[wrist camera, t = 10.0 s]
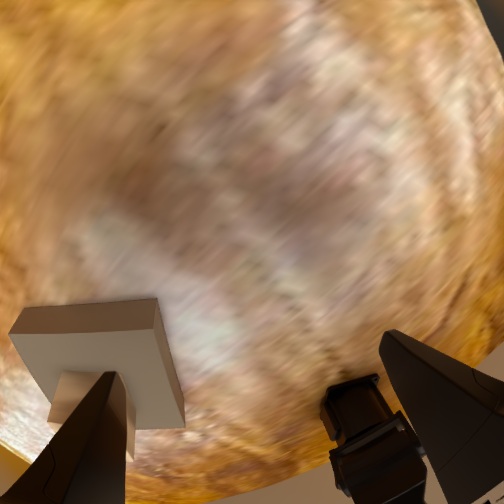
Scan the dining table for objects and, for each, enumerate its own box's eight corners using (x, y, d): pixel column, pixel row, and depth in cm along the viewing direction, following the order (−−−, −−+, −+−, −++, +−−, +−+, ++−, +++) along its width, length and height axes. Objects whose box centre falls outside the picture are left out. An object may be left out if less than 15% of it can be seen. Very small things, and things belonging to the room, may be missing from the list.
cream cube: (121, 372, 19) (113, 428, 15) (136, 411, 21) (133, 461, 17) (62, 370, 18) (47, 421, 14) (83, 408, 20) (75, 456, 16)
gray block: (157, 294, 21) (153, 328, 18) (183, 394, 27) (185, 427, 23) (26, 304, 20) (8, 333, 16) (75, 396, 25) (68, 426, 21)
